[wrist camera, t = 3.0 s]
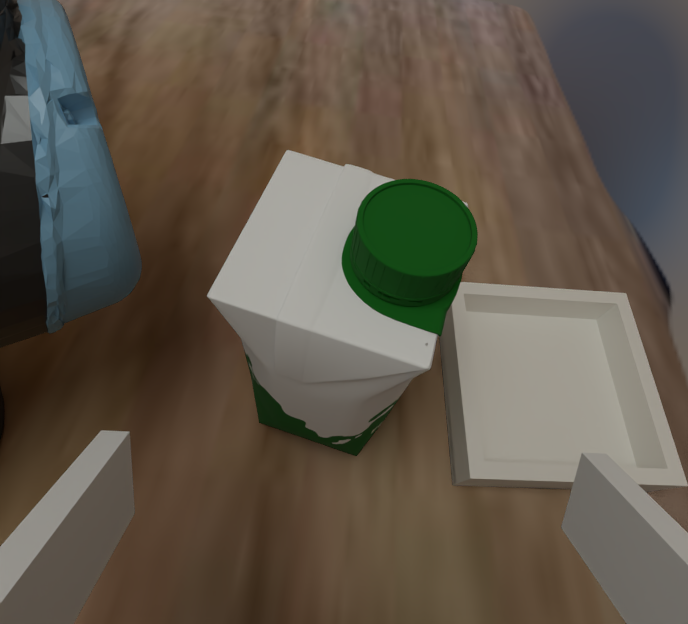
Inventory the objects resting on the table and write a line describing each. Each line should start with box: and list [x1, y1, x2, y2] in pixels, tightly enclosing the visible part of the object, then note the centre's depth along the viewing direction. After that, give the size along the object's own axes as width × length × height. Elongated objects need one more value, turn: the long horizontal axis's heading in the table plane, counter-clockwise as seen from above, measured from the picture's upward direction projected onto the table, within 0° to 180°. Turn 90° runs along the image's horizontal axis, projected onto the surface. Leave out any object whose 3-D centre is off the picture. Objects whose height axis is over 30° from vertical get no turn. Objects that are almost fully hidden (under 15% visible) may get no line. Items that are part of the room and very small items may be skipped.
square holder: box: [439, 282, 688, 492], centre depth 32 cm, size 14×14×4 cm
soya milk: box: [207, 150, 477, 456], centre depth 23 cm, size 9×9×20 cm
